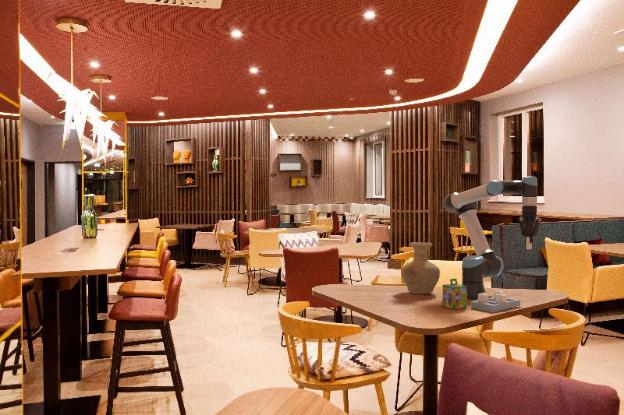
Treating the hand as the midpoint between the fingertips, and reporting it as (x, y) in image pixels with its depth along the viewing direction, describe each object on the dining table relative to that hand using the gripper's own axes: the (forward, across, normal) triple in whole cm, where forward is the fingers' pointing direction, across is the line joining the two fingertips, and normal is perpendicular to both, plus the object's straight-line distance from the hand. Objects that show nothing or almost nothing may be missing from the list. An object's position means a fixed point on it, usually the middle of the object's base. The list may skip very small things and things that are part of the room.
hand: (529, 249), depth 286 cm
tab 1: (+28, -6, -31) cm, 42 cm away
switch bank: (+29, -4, -24) cm, 38 cm away
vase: (+30, -54, -26) cm, 67 cm away
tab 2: (+28, -7, -17) cm, 33 cm away
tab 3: (+28, -1, -24) cm, 37 cm away
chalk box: (+30, -17, -41) cm, 53 cm away
